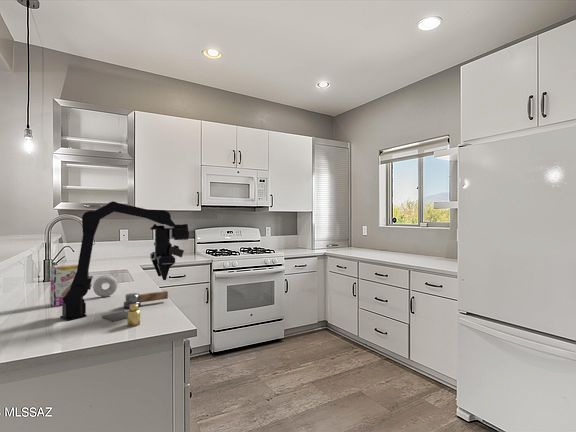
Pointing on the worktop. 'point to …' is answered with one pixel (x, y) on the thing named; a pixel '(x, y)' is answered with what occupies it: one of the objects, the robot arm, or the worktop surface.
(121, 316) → the rubber mat
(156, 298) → the hammer
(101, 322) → the worktop surface
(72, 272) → the candy bar box
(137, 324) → the brass calibration weight
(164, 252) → the robot arm
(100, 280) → the donut
